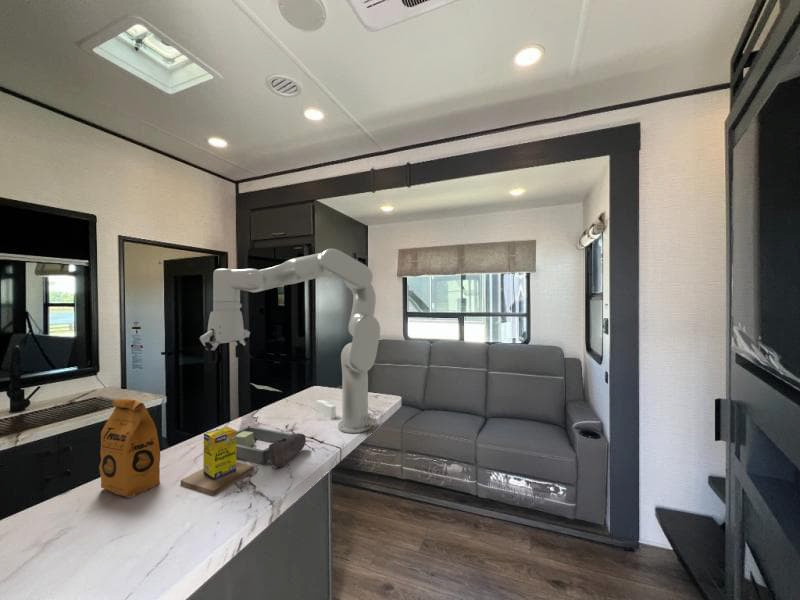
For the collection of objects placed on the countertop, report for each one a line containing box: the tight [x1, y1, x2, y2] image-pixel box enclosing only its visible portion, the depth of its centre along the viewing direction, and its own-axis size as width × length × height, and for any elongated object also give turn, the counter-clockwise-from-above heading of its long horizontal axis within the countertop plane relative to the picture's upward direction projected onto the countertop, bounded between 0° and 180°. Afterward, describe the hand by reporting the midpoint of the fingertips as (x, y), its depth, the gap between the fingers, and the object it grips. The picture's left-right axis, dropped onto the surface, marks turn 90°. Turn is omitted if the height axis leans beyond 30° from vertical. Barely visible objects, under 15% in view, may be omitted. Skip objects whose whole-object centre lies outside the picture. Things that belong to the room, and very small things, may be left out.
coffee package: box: [98, 397, 161, 499], centre depth 79 cm, size 10×12×22 cm
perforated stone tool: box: [268, 433, 307, 469], centre depth 92 cm, size 15×5×7 cm, turn 157°
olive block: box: [236, 431, 254, 447], centre depth 101 cm, size 4×4×4 cm
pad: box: [180, 461, 255, 497], centre depth 83 cm, size 12×12×1 cm
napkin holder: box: [315, 399, 337, 420], centre depth 128 cm, size 15×11×6 cm
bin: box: [236, 425, 294, 465], centre depth 99 cm, size 20×13×4 cm, turn 68°
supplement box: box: [202, 425, 237, 480], centre depth 83 cm, size 6×6×11 cm
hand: (226, 360), depth 100 cm, fingers open, 9 cm apart
